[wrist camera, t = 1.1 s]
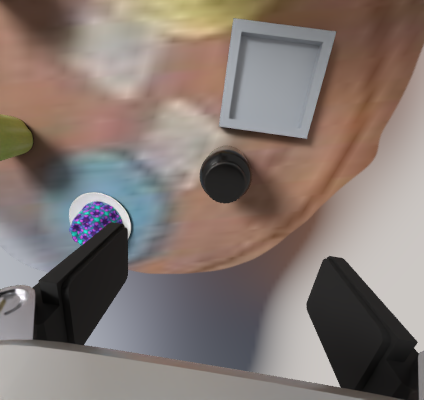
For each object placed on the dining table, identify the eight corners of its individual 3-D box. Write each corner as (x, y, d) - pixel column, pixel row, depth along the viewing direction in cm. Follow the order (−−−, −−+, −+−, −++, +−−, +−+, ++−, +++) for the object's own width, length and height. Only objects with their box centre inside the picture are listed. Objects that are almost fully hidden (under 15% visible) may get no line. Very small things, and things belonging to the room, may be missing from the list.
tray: (233, 25, 28) (233, 18, 26) (329, 37, 28) (336, 31, 26) (219, 126, 32) (218, 126, 31) (302, 137, 32) (306, 138, 30)
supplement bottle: (254, 156, 34) (268, 171, 22) (234, 192, 36) (237, 222, 25) (217, 137, 33) (211, 142, 22) (198, 174, 35) (185, 196, 24)
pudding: (59, 208, 40) (35, 219, 35) (107, 180, 37) (88, 188, 32) (98, 256, 43) (81, 273, 38) (144, 233, 40) (133, 248, 35)
